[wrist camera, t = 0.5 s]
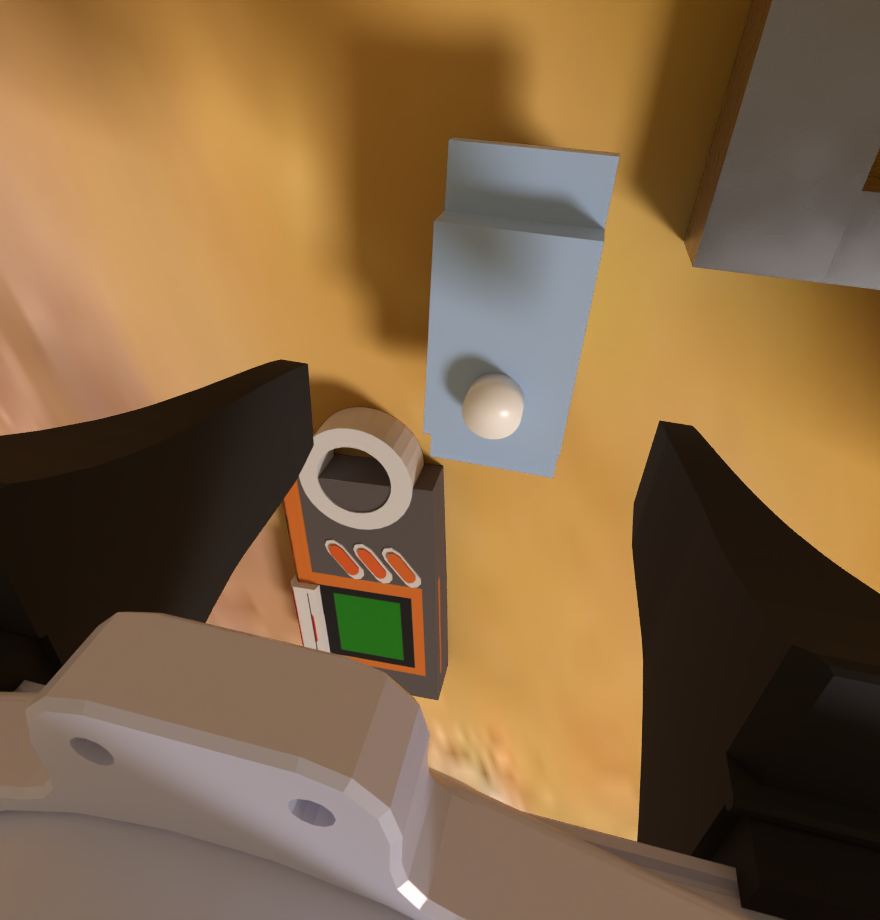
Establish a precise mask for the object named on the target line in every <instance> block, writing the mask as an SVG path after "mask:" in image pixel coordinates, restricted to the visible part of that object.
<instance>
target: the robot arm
mask: <svg viewBox="0 0 880 920" xmlns="http://www.w3.org/2000/svg"><path fill="white" fill-rule="evenodd" d="M313 446H314V440H313V426H312V413H311V400H310V386H309V373H308V364H305V363H299V362H293V361H287V360H277V361H273V362H269V363H266V364H263V365H260V366H257V367H255V368H252V369H249V370H247V371H244V372H241V373H239V374H236V375H234V376H231V377H229V378H226V379H223V380H221V381H218V382H216V383H213V384H211V385H208V386H205V387H203V388H200V389H197V390H194V391H192V392H189V393H186V394H183V395H180V396H177V397H174V398H171V399H169V400H166V401H163V402H160V403H157V404H154V405H151V406H148V407H144V408H141V409H137V410H134V411H130V412H126V413H122V414H119V415H115V416H111V417H107V418H103V419H98V420H94V421H89V422H83V423H78V424H73V425H67V426H62V427H57V428H52V429H46V430H40V431H33V432H26V433H19V434H11V435H3V436H0V920H880V594H879V593H878V592H876V591H875V590H873V589H872V588H870V587H869V586H867V585H866V584H864V583H863V582H861V581H860V580H858V579H857V578H855V577H854V576H852V575H851V574H849V573H848V572H846V571H845V570H844V569H842V568H841V567H839V566H838V565H837V564H835V563H834V562H832V561H831V560H830V559H828V558H827V557H826V556H824V555H823V554H822V553H820V552H819V551H818V550H817V549H816V548H814V547H813V546H812V545H811V544H809V543H808V542H807V541H806V540H804V539H803V538H802V537H801V536H799V535H798V534H797V533H796V532H794V531H793V530H792V529H791V528H790V527H789V526H787V525H786V524H785V523H784V522H783V521H782V520H781V519H780V518H779V517H778V516H776V515H775V514H774V513H773V512H772V511H771V510H770V509H769V508H768V507H767V506H766V505H765V504H764V503H763V502H762V501H761V500H760V499H759V498H758V497H757V496H756V495H755V494H754V493H753V492H752V491H751V490H750V489H749V488H748V487H747V486H746V485H745V484H744V483H743V482H742V481H741V480H740V478H739V477H738V476H737V475H736V474H735V473H734V472H733V471H732V470H731V469H730V467H729V466H728V465H727V464H726V463H725V462H724V461H723V460H722V458H721V457H720V456H719V455H718V454H717V453H716V451H715V450H714V449H713V448H712V447H711V446H710V444H709V443H708V442H707V441H706V440H705V439H704V438H703V436H702V435H701V434H700V433H699V432H698V431H697V430H696V429H695V428H694V427H693V426H690V425H684V424H678V423H671V422H665V421H659V424H658V427H657V431H656V434H655V437H654V440H653V443H652V447H651V450H650V453H649V456H648V459H647V463H646V466H645V469H644V472H643V476H642V479H641V482H640V485H639V488H638V492H637V495H636V498H635V501H634V510H633V532H632V550H633V560H634V570H635V580H636V589H637V599H638V608H639V617H640V626H641V635H642V649H643V718H642V756H641V780H640V803H639V823H638V839H637V842H636V841H632V840H628V839H624V838H621V837H617V836H613V835H609V834H606V833H602V832H598V831H594V830H590V829H587V828H583V827H579V826H575V825H571V824H568V823H564V822H560V821H556V820H553V819H549V818H545V817H541V816H537V815H534V814H530V813H526V812H522V811H519V810H517V809H515V808H513V807H511V806H509V805H506V804H504V803H502V802H500V801H498V800H496V799H494V798H491V797H489V796H487V795H485V794H483V793H481V792H479V791H476V790H474V789H472V788H470V787H468V786H466V785H463V784H461V783H459V782H457V781H455V780H453V779H451V778H448V777H446V776H444V775H442V774H440V773H437V772H435V771H433V770H431V769H429V768H428V763H427V758H428V746H429V731H428V728H427V725H426V722H425V719H424V716H423V713H422V710H421V707H420V705H419V704H418V702H417V701H416V700H415V698H414V697H413V696H411V695H410V694H409V693H408V692H407V691H406V690H405V689H403V688H402V687H401V686H400V685H399V684H398V683H397V682H396V681H394V680H393V679H392V678H391V677H390V676H389V675H388V674H386V673H385V672H383V671H380V670H378V669H375V668H373V667H370V666H368V665H365V664H363V663H361V662H358V661H356V660H353V659H351V658H348V657H346V656H342V655H338V654H334V653H329V652H325V651H321V650H317V649H312V648H308V647H304V646H300V645H295V644H291V643H287V642H283V641H278V640H274V639H270V638H266V637H262V636H257V635H253V634H249V633H245V632H240V631H236V630H232V629H228V628H223V627H219V626H215V625H211V624H206V621H207V619H208V617H209V615H210V613H211V611H212V609H213V607H214V605H215V604H216V602H217V600H218V598H219V596H220V594H221V593H222V591H223V589H224V587H225V585H226V584H227V582H228V580H229V578H230V576H231V574H232V573H233V571H234V569H235V568H236V566H237V565H238V563H239V562H240V560H241V559H242V557H243V555H244V554H245V553H246V551H247V550H248V548H249V547H250V546H251V544H252V543H253V541H254V540H255V539H256V537H257V536H258V534H259V533H260V532H261V530H262V529H263V527H264V526H265V525H266V523H267V522H268V520H269V519H270V518H271V516H272V515H273V513H274V512H275V511H276V509H277V508H278V506H279V505H280V504H281V502H282V501H283V499H284V498H285V496H286V495H287V494H288V492H289V491H290V489H291V488H292V486H293V485H294V483H295V482H296V480H297V478H298V476H299V474H300V473H301V471H302V469H303V467H304V465H305V463H306V461H307V459H308V456H309V454H310V452H311V450H312V448H313Z"/></svg>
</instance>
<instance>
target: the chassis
mask: <svg viewBox="0 0 880 920" xmlns="http://www.w3.org/2000/svg"><path fill="white" fill-rule="evenodd" d="M879 149H880V0H753V1H752V5H751V8H750V12H749V15H748V19H747V22H746V26H745V29H744V33H743V37H742V40H741V44H740V47H739V51H738V54H737V58H736V61H735V65H734V68H733V72H732V75H731V79H730V82H729V86H728V90H727V93H726V97H725V100H724V104H723V107H722V111H721V114H720V118H719V121H718V125H717V128H716V132H715V135H714V139H713V142H712V146H711V150H710V153H709V157H708V160H707V164H706V167H705V171H704V174H703V178H702V181H701V185H700V188H699V192H698V195H697V199H696V203H695V206H694V210H693V213H692V217H691V220H690V224H689V227H688V231H687V234H686V238H685V241H684V244H685V247H686V249H687V252H688V255H689V258H690V260H691V263H692V266H693V267H698V268H706V269H714V270H722V271H730V272H738V273H746V274H755V275H763V276H771V277H779V278H787V279H795V280H803V281H811V282H819V283H827V284H835V285H844V286H852V287H860V288H868V289H876V290H880V178H876V177H868V175H869V172H870V170H871V168H872V165H873V163H874V161H875V158H876V156H877V154H878V151H879Z"/></svg>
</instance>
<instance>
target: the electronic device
mask: <svg viewBox="0 0 880 920" xmlns="http://www.w3.org/2000/svg"><path fill="white" fill-rule="evenodd" d="M313 440H314V446H313V448H312V450H311V452H310V454H309V456H308V459H307V461H306V463H305V465H304V467H303V469H302V471H301V473H300V474H299V476H298V478H297V480H296V482H295V483H294V485H293V486H292V488H291V489H290V491H289V492H288V494H287V495H286V496H285V498H284V499H283V506H284V511H285V516H286V522H287V527H288V533H289V538H290V544H291V549H292V554H293V560H294V565H295V571H296V574H295V576H294V577H293V579H292V580H291V586H292V591H293V596H294V602H295V607H296V612H297V617H298V622H299V628H300V633H301V638H302V643H303V646H304V647H308V648H312V649H317V650H321V651H325V652H329V653H334V654H338V655H342V656H346V657H348V658H351V659H353V660H356V661H358V662H361V663H363V664H365V665H368V666H370V667H373V668H375V669H378V670H380V671H383V672H385V673H386V674H388V675H389V676H390V677H391V678H392V679H393V680H394V681H396V682H397V683H398V684H399V685H400V686H401V687H402V688H403V689H405V690H406V691H407V692H408V693H409V694H410V695H413V696H418V697H423V698H429V699H434V700H438V699H439V695H440V692H441V688H442V684H443V681H444V677H445V674H446V670H447V666H448V639H447V573H446V540H445V507H444V475H443V466H439V465H430V464H424V460H423V454H422V451H421V448H420V446H419V443H418V442H417V440H416V438H415V437H414V435H413V434H412V433H411V432H410V430H409V429H408V428H407V427H406V426H405V425H404V424H403V423H401V422H400V421H399V420H398V419H396V418H394V417H393V416H391V415H389V414H387V413H385V412H382V411H379V410H376V409H372V408H366V407H353V408H348V409H343V410H341V411H339V412H336V413H334V414H333V415H332V416H330V417H329V418H328V419H327V420H326V421H325V422H324V424H323V425H322V426H321V427H320V428H319V429H318V431H317V432H316V433H315V434H314V435H313ZM340 447H351V448H356V449H359V450H362V451H365V452H366V453H368V454H370V455H372V456H373V457H374V458H376V459H374V458H365V457H356V456H347V455H338V454H334V449H335V448H340ZM356 482H359V483H356ZM365 483H368V484H365ZM373 484H376V485H373ZM381 485H384V486H381Z"/></svg>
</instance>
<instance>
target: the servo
mask: <svg viewBox="0 0 880 920" xmlns="http://www.w3.org/2000/svg"><path fill="white" fill-rule="evenodd" d="M619 157H620V156H619V153H611V152H600V151H590V150H580V149H570V148H560V147H549V146H539V145H529V144H519V143H509V142H498V141H488V140H478V139H468V138H458V137H452V138H451V139H449V142H448V159H447V176H446V193H445V210H444V211H443V212H442V213H441V214H440V215H439V216H438V217H437V218H436V220H435V221H434V229H433V249H432V269H431V289H430V310H429V330H428V350H427V370H426V390H425V411H424V431H423V433H427V434H431V449H430V456H434V457H439V458H445V459H450V460H456V461H461V462H467V463H472V464H478V465H483V466H489V467H494V468H500V469H506V470H511V471H517V472H522V473H528V474H533V475H539V476H544V477H550V478H553V476H554V471H555V466H556V462H557V457H558V456H559V455H560V451H561V446H562V441H563V436H564V431H565V427H566V422H567V417H568V412H569V407H570V403H571V398H572V393H573V388H574V384H575V379H576V374H577V369H578V364H579V360H580V355H581V350H582V345H583V340H584V336H585V331H586V326H587V321H588V316H589V312H590V307H591V302H592V297H593V292H594V288H595V283H596V278H597V273H598V268H599V264H600V259H601V254H602V249H603V244H604V230H605V224H606V220H607V215H608V210H609V205H610V200H611V195H612V191H613V186H614V181H615V176H616V171H617V166H618V162H619Z"/></svg>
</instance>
